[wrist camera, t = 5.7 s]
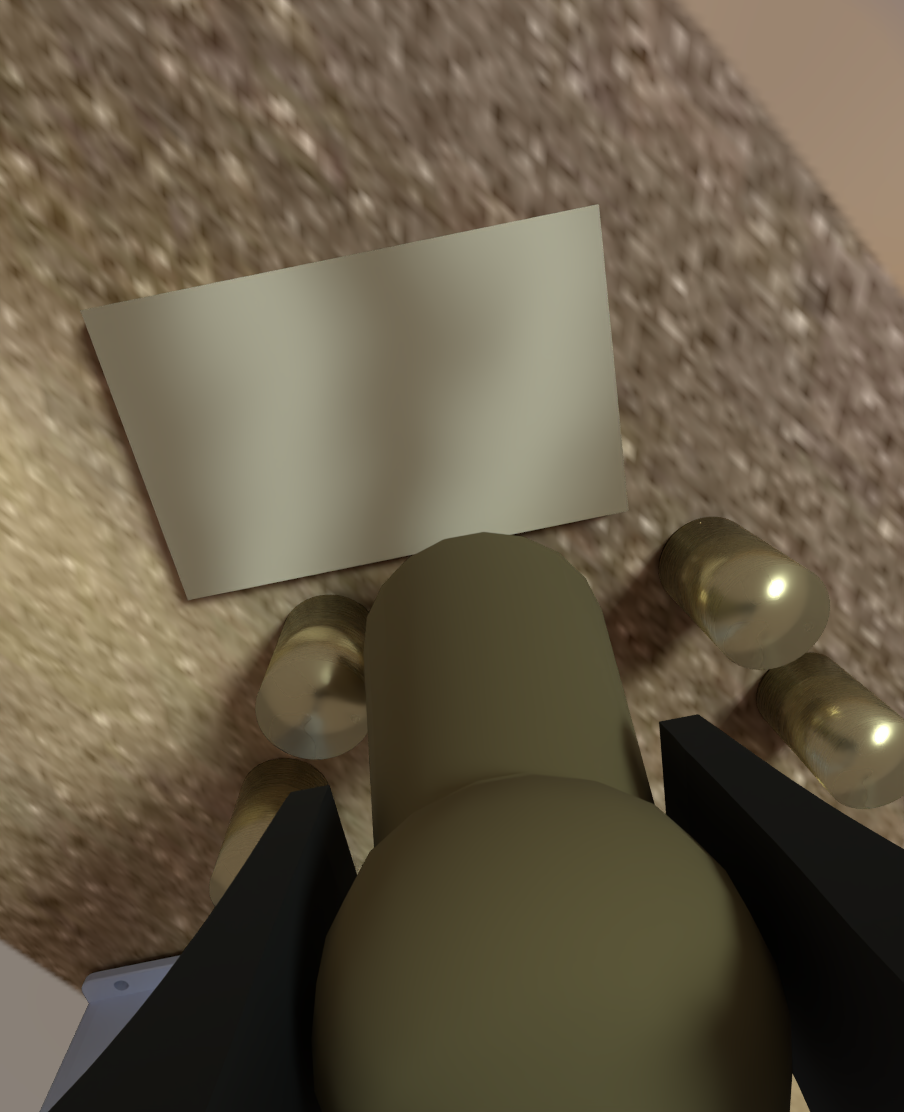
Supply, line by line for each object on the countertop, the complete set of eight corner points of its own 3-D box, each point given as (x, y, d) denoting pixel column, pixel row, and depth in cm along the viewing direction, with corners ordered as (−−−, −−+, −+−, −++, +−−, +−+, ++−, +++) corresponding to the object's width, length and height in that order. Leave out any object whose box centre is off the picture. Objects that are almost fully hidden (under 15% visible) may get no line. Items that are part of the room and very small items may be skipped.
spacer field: (298, 945, 25) (280, 1057, 21) (169, 610, 20) (115, 679, 16) (837, 837, 25) (913, 930, 21) (848, 472, 20) (951, 510, 16)
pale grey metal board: (196, 589, 20) (187, 600, 19) (94, 310, 17) (80, 310, 16) (620, 503, 20) (628, 510, 19) (590, 208, 17) (598, 204, 16)
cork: (338, 721, 17) (177, 1340, 6) (399, 501, 15) (316, 858, 5) (559, 775, 18) (739, 1414, 7) (642, 570, 16) (1048, 1016, 5)
